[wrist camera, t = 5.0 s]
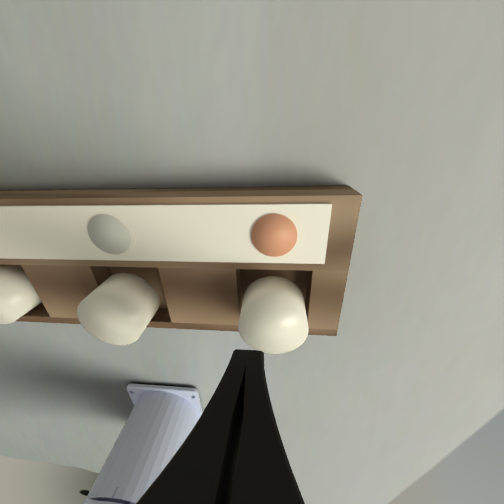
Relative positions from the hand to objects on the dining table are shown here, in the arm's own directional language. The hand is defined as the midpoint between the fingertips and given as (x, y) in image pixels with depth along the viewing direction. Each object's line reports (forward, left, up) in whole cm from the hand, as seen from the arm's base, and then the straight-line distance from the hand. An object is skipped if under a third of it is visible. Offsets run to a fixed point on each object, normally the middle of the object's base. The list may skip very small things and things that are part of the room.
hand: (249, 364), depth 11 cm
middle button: (0, +9, -5) cm, 10 cm away
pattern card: (+5, +9, -5) cm, 11 cm away
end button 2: (0, -1, -5) cm, 5 cm away
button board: (+2, +9, -8) cm, 12 cm away
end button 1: (0, +19, -6) cm, 20 cm away
